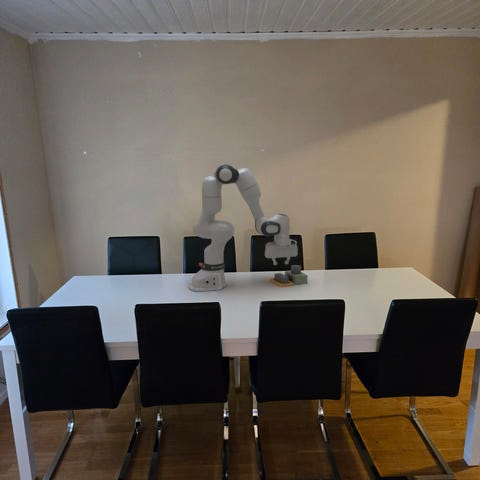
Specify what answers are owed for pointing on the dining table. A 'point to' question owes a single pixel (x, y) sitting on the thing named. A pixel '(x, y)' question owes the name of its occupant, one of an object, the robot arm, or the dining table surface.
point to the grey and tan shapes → (293, 277)
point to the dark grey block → (281, 278)
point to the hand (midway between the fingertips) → (280, 264)
